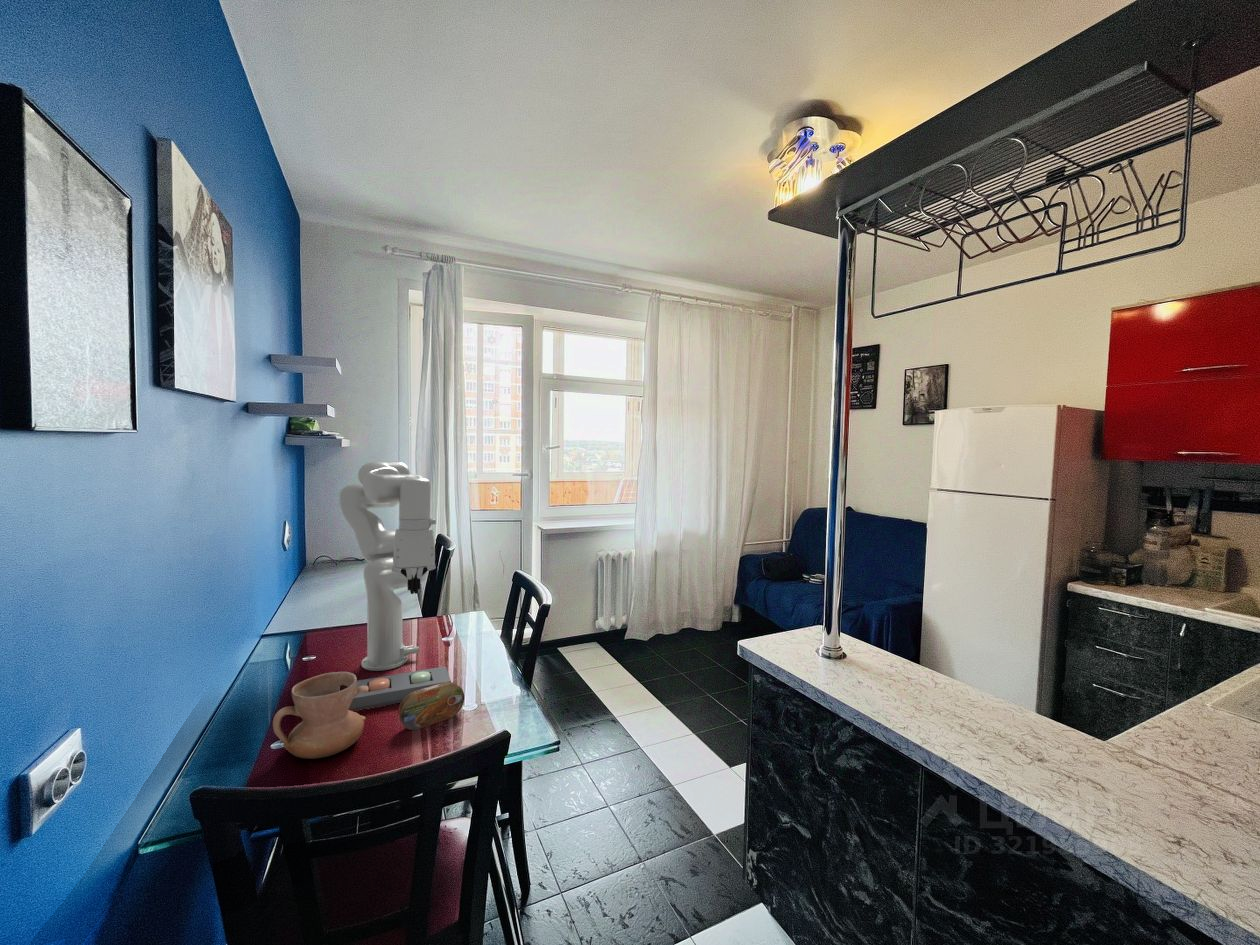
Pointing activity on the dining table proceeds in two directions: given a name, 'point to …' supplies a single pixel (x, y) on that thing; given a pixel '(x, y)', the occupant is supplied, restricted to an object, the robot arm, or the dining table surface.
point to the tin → (431, 705)
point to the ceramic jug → (322, 716)
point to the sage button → (420, 677)
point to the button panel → (396, 688)
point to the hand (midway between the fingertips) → (413, 592)
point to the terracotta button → (379, 684)
